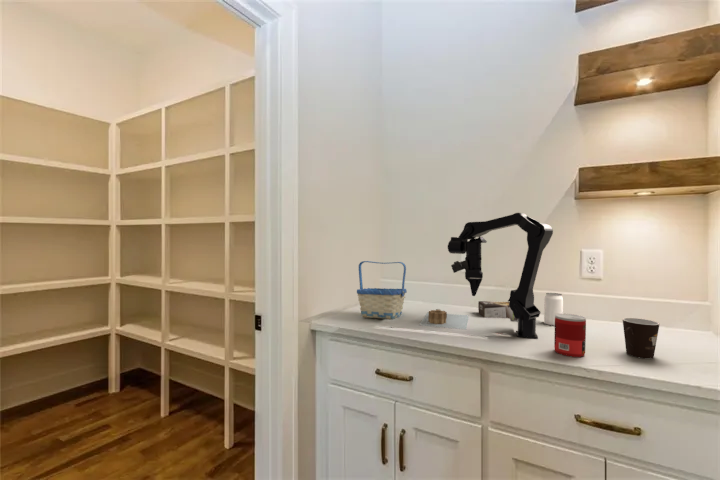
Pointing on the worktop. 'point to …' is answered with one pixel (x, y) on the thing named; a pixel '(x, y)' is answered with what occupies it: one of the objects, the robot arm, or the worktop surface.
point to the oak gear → (437, 317)
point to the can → (552, 307)
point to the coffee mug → (640, 337)
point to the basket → (381, 299)
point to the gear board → (448, 321)
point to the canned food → (570, 335)
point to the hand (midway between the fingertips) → (473, 294)
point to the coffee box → (495, 310)
